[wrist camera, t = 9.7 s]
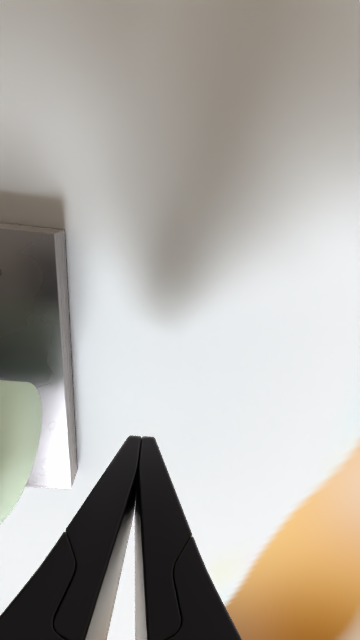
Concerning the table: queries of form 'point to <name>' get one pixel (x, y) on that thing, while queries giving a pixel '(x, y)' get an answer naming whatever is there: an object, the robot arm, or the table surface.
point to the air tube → (17, 439)
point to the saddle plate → (40, 341)
